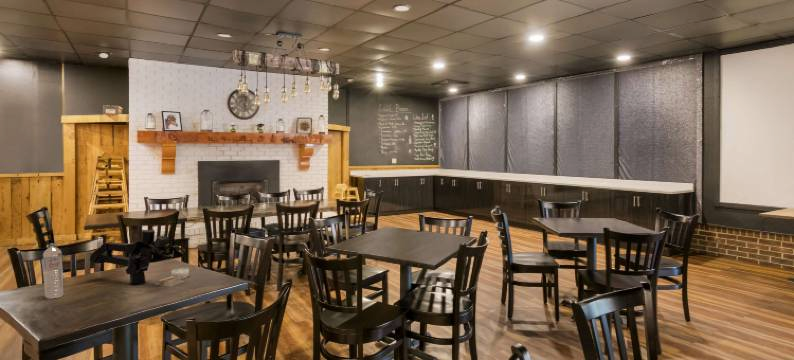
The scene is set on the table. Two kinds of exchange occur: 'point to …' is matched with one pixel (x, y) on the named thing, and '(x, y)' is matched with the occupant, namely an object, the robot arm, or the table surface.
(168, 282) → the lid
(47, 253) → the water bottle
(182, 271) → the bowl
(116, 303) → the table surface
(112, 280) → the table surface
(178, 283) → the mat
